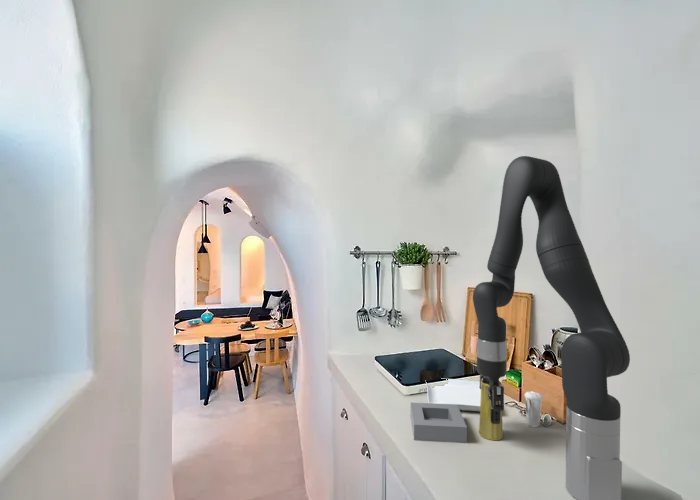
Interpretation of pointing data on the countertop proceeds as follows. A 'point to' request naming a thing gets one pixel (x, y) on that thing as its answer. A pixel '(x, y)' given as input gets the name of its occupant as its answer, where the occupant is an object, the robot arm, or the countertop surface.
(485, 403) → the vase
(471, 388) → the salad plate
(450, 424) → the block
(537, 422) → the milkshake
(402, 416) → the countertop surface
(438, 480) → the countertop surface
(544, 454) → the countertop surface
